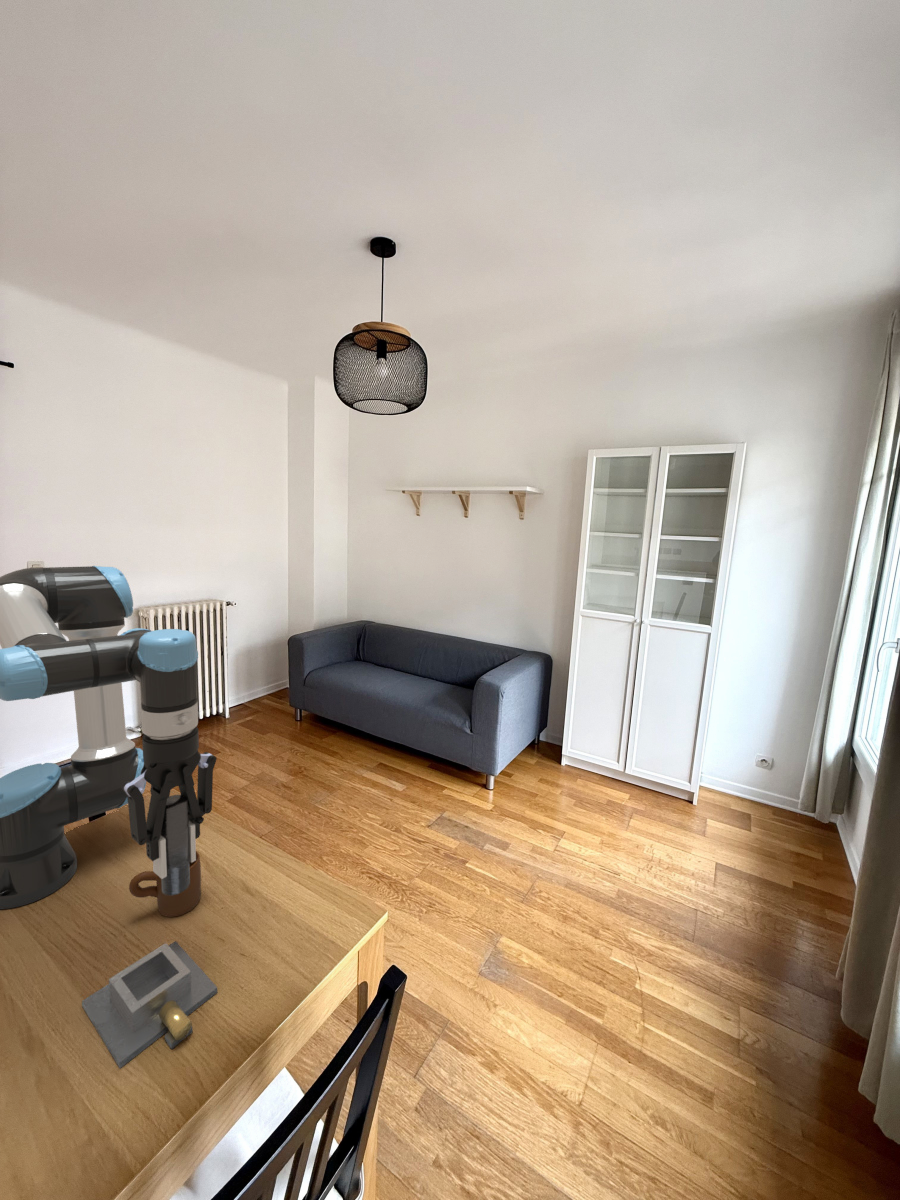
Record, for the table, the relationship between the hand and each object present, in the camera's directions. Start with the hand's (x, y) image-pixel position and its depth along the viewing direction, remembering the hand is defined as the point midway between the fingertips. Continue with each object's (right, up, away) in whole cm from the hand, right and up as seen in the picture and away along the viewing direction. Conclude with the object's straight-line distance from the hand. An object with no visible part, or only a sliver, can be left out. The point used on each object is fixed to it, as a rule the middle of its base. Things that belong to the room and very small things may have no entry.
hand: (175, 865), depth 77 cm
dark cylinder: (0, -4, +1) cm, 4 cm away
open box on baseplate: (-2, -21, -2) cm, 21 cm away
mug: (-11, -18, +17) cm, 27 cm away
